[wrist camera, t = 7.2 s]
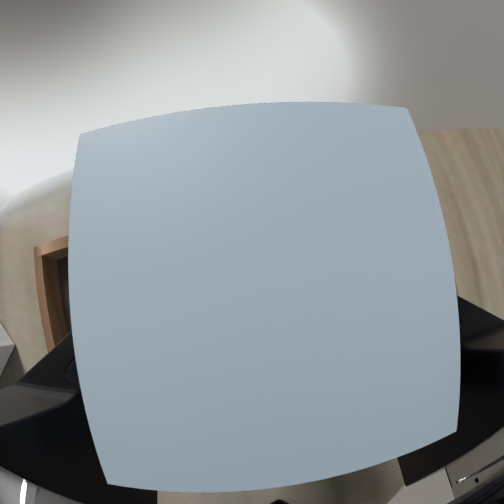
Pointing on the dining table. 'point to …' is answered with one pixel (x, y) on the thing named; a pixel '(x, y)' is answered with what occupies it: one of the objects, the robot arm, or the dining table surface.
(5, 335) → the small box
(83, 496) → the robot arm
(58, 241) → the box
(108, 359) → the block
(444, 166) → the dining table surface
